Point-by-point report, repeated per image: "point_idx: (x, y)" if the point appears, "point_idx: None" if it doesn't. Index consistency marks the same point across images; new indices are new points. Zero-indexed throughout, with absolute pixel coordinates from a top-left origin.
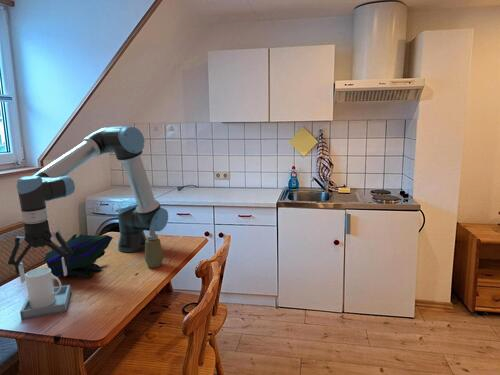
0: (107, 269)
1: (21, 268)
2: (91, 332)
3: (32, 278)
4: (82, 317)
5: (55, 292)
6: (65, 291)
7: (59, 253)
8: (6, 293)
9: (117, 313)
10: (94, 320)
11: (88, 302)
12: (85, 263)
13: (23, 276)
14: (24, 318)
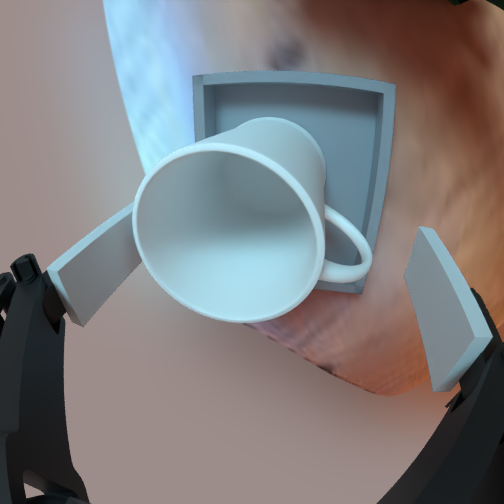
0: None
1: (98, 301)
2: (389, 381)
3: (205, 306)
4: (394, 325)
5: (333, 221)
6: (364, 92)
7: (430, 449)
8: (110, 17)
9: None
10: (412, 348)
11: None
12: (496, 2)
13: (134, 247)
14: None
